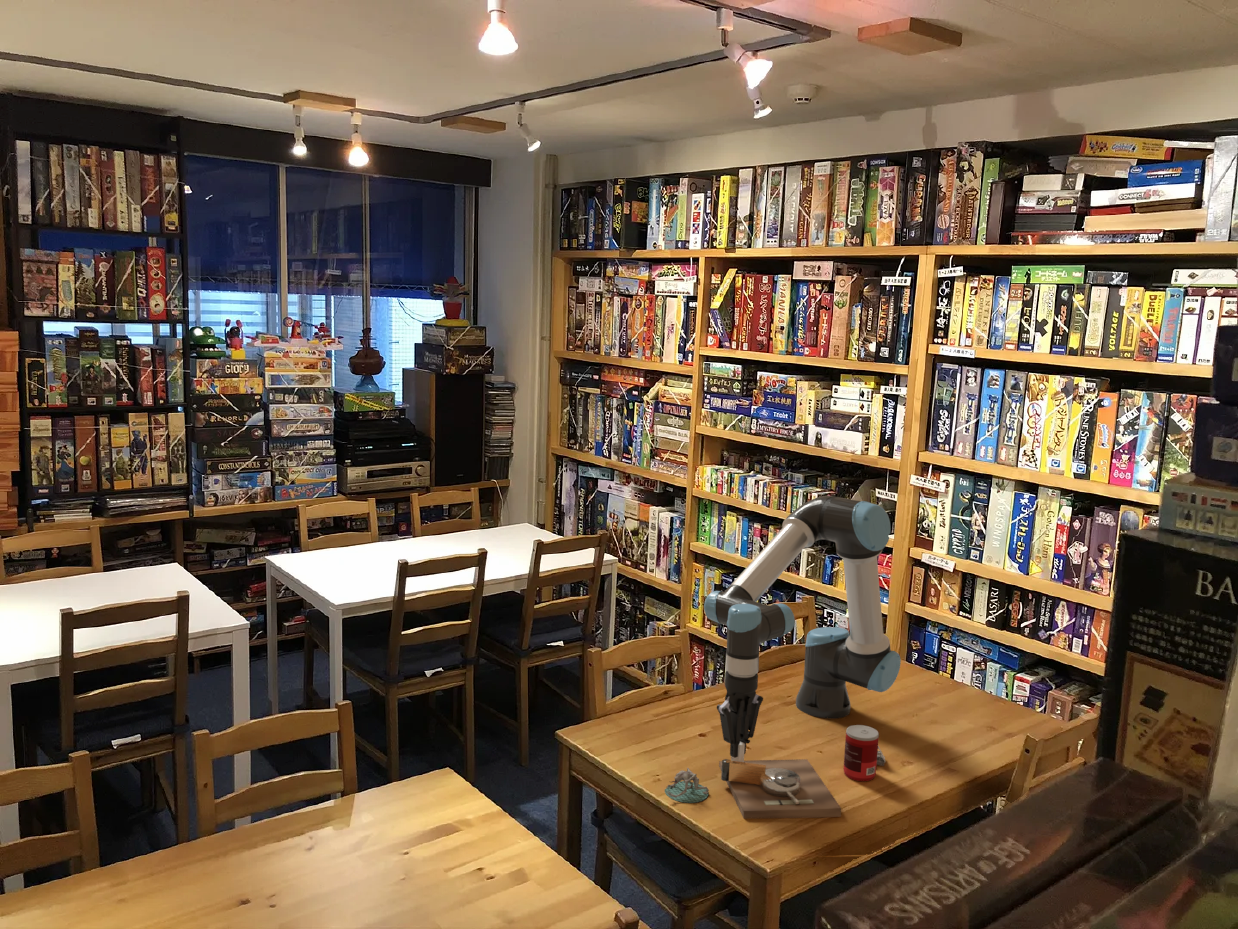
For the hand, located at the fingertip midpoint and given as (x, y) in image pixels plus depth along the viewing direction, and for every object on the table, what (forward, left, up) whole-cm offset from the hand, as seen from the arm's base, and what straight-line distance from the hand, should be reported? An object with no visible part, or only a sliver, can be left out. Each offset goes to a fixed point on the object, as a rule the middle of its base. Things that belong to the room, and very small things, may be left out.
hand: (737, 768), depth 222 cm
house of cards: (-9, +35, -5) cm, 37 cm away
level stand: (+3, +9, -4) cm, 10 cm away
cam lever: (+5, +9, -2) cm, 11 cm away
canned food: (-4, +32, -5) cm, 32 cm away
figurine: (+4, -13, -5) cm, 14 cm away
